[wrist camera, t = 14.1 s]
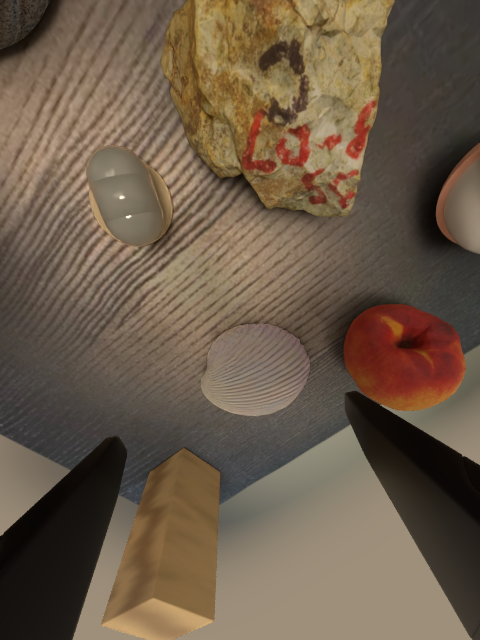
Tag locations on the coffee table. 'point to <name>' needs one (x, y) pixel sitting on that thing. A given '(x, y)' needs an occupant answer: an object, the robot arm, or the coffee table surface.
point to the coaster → (162, 196)
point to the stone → (125, 195)
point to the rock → (280, 93)
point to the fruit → (404, 357)
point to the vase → (19, 19)
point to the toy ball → (462, 203)
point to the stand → (170, 554)
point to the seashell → (255, 369)
